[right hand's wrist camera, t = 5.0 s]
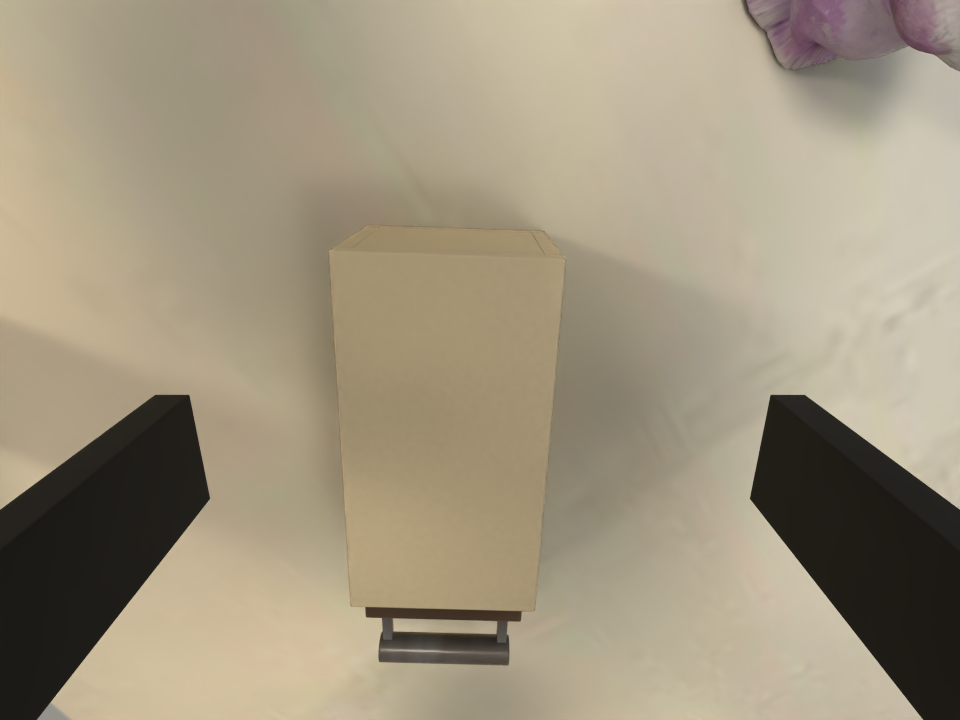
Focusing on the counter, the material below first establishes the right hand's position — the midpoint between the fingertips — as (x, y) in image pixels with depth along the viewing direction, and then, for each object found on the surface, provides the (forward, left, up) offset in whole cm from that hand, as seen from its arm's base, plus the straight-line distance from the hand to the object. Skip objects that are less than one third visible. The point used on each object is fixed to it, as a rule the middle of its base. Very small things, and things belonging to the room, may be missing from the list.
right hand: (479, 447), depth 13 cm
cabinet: (+1, -8, -21) cm, 22 cm away
